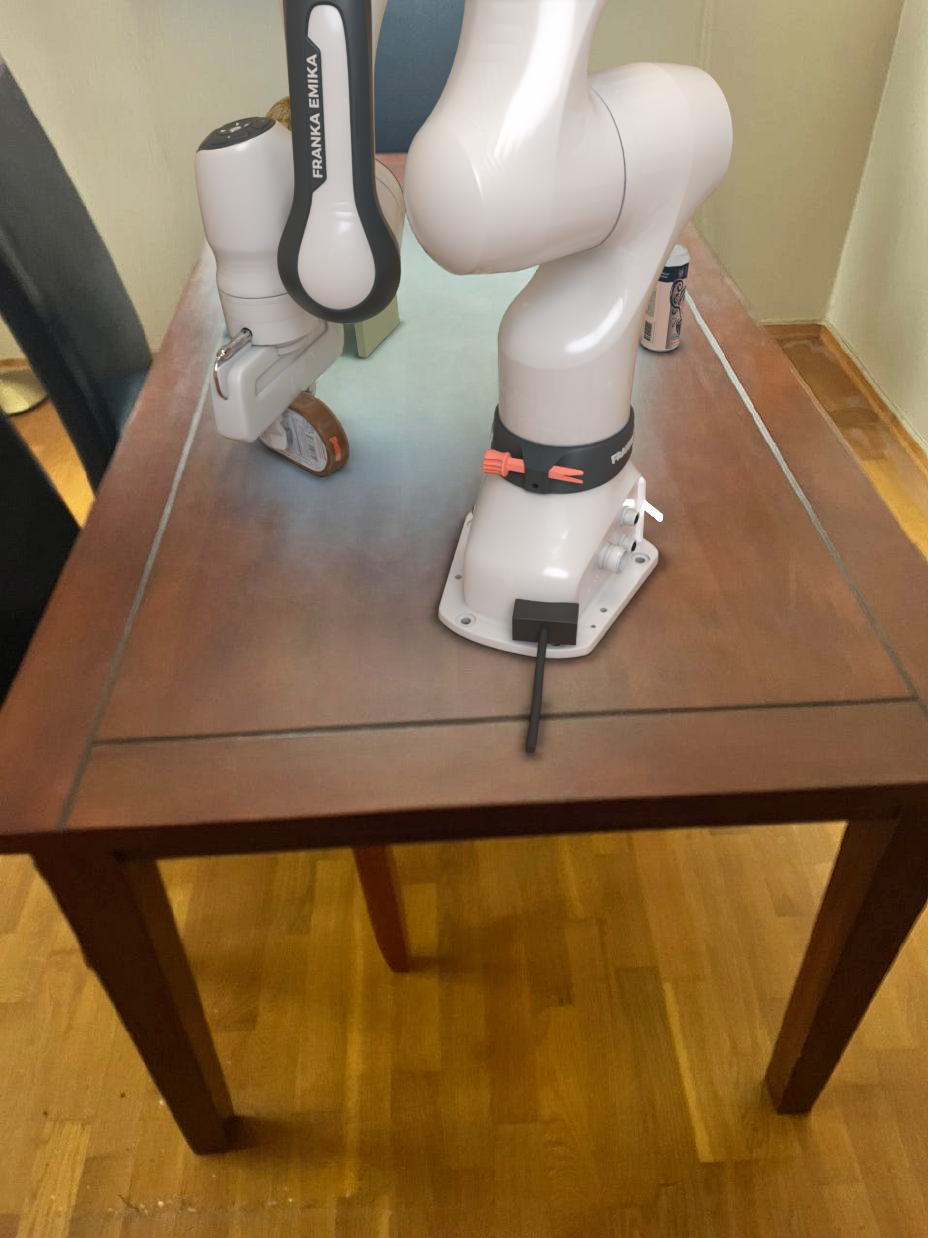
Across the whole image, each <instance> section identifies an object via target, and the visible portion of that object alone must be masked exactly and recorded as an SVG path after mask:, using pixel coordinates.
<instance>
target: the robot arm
mask: <svg viewBox="0 0 928 1238" xmlns="http://www.w3.org/2000/svg"><path fill="white" fill-rule="evenodd" d="M609 1H610V0H464V8H463V17H462V23H461V29H460V35H459V39H458V44H457V49H456V53H455V57H454V60H453V63H452V66H451V69H450V73H449V75H448V77H447V81H446V83H445V86H444V88H443V90H442V92H441V94H440V96H439V99H438V100H437V102H436V104H435V106H434V107H433V109H432V111H431V113H430V114H429V116H428V117H427V119H426V120H425V121H424V123H423V124H422V126H421V127H420V128H419V129H418V130H417V132H416V133H415V135H414V137H413V139H412V140H411V143H410V146H409V148H408V152H407V154H406V157H405V162H404V166H403V172H402V173H403V174H402V183H400V182H399V180H398V178H397V177H396V175H395V174H394V173H393V171H392V170H391V169H390V168H389V166H387V165H385V164H384V163H383V162H382V161H380V160H378V159H377V158H376V132H375V131H376V130H375V129H376V128H375V127H376V126H375V66H376V58H377V57H376V56H377V49H378V44H379V37H380V31H381V27H382V24H383V23H382V22H383V19H384V14H385V11H386V8H387V4H388V0H277V3H278V8H279V15H280V20H281V25H282V32H283V37H284V44H285V56H286V57H285V58H286V68H287V69H286V70H287V81H288V82H287V83H288V96H289V99H290V115H291V131H290V130H288V129H287V128H286V127H284V126H283V125H282V124H281V123H280V122H279V121H277V120H275V119H273V118H268V117H265V116H250V117H245V118H239V119H237V120H234V121H230V122H228V123H225V124H223V125H222V126H220V127H218V128H215V129H213V130H212V131H211V132H210V133H209V134H208V135H207V136H206V137H205V138H204V139H203V140H202V142H200V144H199V146H198V149H197V150H196V152H195V155H194V175H195V176H194V177H195V186H196V193H197V199H198V200H197V201H198V205H199V211H200V216H201V217H200V218H201V221H202V227H203V231H204V236H205V239H206V241H207V244H208V246H209V247H210V249H211V251H212V253H213V257H214V259H215V264H216V271H215V282H216V283H215V284H216V287H217V292H218V297H219V301H220V305H221V309H222V315H223V319H224V323H225V328H226V331H227V334H228V335H229V337H231V339H230V340H229V342H227V343H225V344H224V345H222V346H221V347H219V349H218V350H217V352H216V358H215V360H214V363H213V365H212V366H211V369H210V374H209V390H210V400H211V405H212V406H211V407H212V413H213V417H214V423H215V428H216V431H217V433H218V434H219V435H220V436H221V437H223V438H224V439H227V440H230V441H235V442H239V443H246V444H252V443H254V442H255V441H256V440H257V439H258V437H259V436H260V435H261V434H262V433H263V432H264V431H266V432H267V433H269V438H270V442H271V445H272V447H274V448H276V449H281V450H284V449H286V448H287V447H288V445H289V444H290V443H291V442H292V437H291V430H290V429H289V428H283V426H282V425H281V424H280V422H281V421H282V420H283V417H282V413H283V412H284V411H285V410H286V409H287V408H288V407H289V406H290V405H291V403H292V402H293V401H294V400H295V399H296V398H297V397H298V396H299V395H300V393H301V392H302V391H305V392H306V393H308V394H310V395H313V396H314V397H316V391H317V379H319V378H320V377H321V376H322V375H323V374H324V372H326V371H327V370H328V369H329V368H330V367H331V366H332V365H333V364H334V363H335V362H336V361H337V360H338V359H339V358H340V357H341V356H342V353H343V351H344V346H345V329H344V325H346V324H347V325H349V324H350V325H351V324H354V323H358V322H362V321H365V320H368V319H370V318H372V317H374V316H376V315H378V314H379V313H381V312H382V311H383V310H384V309H385V308H386V307H387V306H388V305H389V304H390V303H391V301H392V300H393V298H394V297H395V295H396V293H398V291H399V288H400V283H401V278H402V257H401V256H402V255H401V253H402V245H403V237H404V228H405V227H404V226H405V219H406V218H407V222H408V225H409V227H410V230H411V231H412V234H413V236H414V238H415V239H416V241H417V243H418V244H419V245H420V247H421V248H422V250H423V251H424V252H425V254H427V256H428V257H429V258H430V259H431V260H432V261H433V262H434V263H435V264H436V265H438V267H440V268H441V269H443V270H444V271H446V272H447V273H449V274H452V275H454V276H480V275H481V276H482V275H497V274H508V273H517V272H521V271H524V270H527V269H531V268H534V267H537V266H538V267H537V268H536V270H535V272H534V273H533V275H532V277H531V278H530V280H529V281H528V282H527V283H526V285H525V286H524V287H523V288H522V289H521V291H520V292H519V293H518V294H516V296H515V297H514V298H513V300H512V301H510V303H509V304H508V306H507V308H506V310H505V311H504V313H503V315H502V318H501V319H500V323H499V327H498V332H497V340H496V341H497V343H496V344H497V383H498V384H497V389H498V390H497V394H498V395H497V397H498V400H497V401H498V402H497V404H496V405H495V409H494V413H493V420H492V424H491V427H490V428H491V429H490V448H488V449H487V450H486V451H485V453H484V455H483V460H482V471H483V475H482V477H481V482H480V485H479V490H478V494H477V498H476V501H475V503H474V505H473V506H472V509H471V511H470V512H468V513H467V514H466V516H465V519H464V521H463V526H462V529H461V532H460V536H459V539H458V542H457V545H456V548H455V552H454V556H453V559H452V561H451V566H450V569H449V571H448V575H447V578H446V582H445V585H444V589H443V591H442V594H441V595H442V596H441V599H440V601H439V606H438V615H437V618H438V619H439V621H440V622H441V623H442V624H443V625H444V626H445V627H447V628H448V629H449V630H450V631H452V632H454V633H455V634H457V635H459V636H461V637H463V638H465V639H467V640H470V641H472V642H474V643H477V644H480V645H483V646H486V647H489V648H492V649H493V648H494V649H496V650H499V651H503V652H507V653H512V654H516V655H522V656H527V657H533V658H534V657H535V658H536V659H535V666H534V676H533V687H532V689H533V690H532V703H531V710H530V716H529V717H530V718H529V725H528V730H527V737H526V743H525V751H526V752H527V753H534V752H535V751H536V747H537V739H538V733H539V724H540V719H541V712H542V711H541V710H542V700H543V689H544V675H545V666H546V665H545V664H546V659H570V658H577V657H583V656H587V655H589V654H591V652H592V651H594V649H595V648H596V647H597V645H598V644H599V643H600V641H601V640H602V639H603V637H604V636H605V635H606V633H607V632H608V631H609V629H610V628H611V626H612V625H613V624H614V623H615V622H616V620H617V618H618V617H619V616H620V615H621V613H622V612H623V610H624V609H625V608H626V607H627V605H628V604H629V603H630V602H631V600H632V599H633V598H634V596H635V594H636V593H637V592H638V590H639V589H640V588H641V587H642V586H643V584H644V583H645V581H646V580H647V579H648V577H649V576H650V575H651V573H653V570H654V569H655V568H656V566H657V565H658V564H659V550H658V549H657V548H656V546H655V545H654V544H653V543H651V542H650V541H649V540H647V539H646V538H645V537H644V527H645V526H644V525H645V524H644V523H645V511H646V512H647V513H648V514H649V515H651V516H652V517H654V518H655V519H656V521H658V522H662V521H663V516H664V515H663V513H661V512H660V511H659V510H658V509H656V508H655V507H654V506H652V505H651V504H650V503H648V501H647V500H646V489H647V481H646V478H644V476H643V474H642V473H641V472H640V470H638V468H637V467H636V464H635V463H634V461H633V459H632V457H631V456H632V452H633V447H634V441H635V435H636V423H635V410H634V407H633V406H632V396H633V388H634V387H633V386H634V379H635V373H636V371H635V370H636V365H637V364H636V363H637V355H638V354H637V353H638V348H639V341H640V336H641V333H642V332H641V331H642V329H643V320H644V316H645V314H646V311H647V308H648V305H649V302H650V300H651V297H652V294H653V292H654V289H655V287H656V285H657V282H658V280H659V278H660V275H661V273H662V271H663V269H664V267H665V265H666V262H667V260H668V258H669V256H670V254H671V252H672V250H673V248H674V246H675V245H676V244H678V241H679V239H680V237H681V235H682V234H683V233H684V231H685V229H686V228H687V226H688V224H689V223H690V221H691V220H692V219H693V217H694V216H695V214H696V213H697V212H698V211H699V210H700V208H701V207H702V206H703V205H704V204H705V202H706V201H708V199H709V198H710V197H711V196H712V195H713V194H714V193H715V191H716V190H718V188H719V187H720V185H721V184H722V182H723V180H724V178H725V176H726V174H727V172H728V169H729V166H730V162H731V158H732V153H733V144H734V128H733V120H732V114H731V111H730V107H729V103H728V101H727V98H726V96H725V94H724V92H723V90H722V88H721V86H720V85H719V84H718V83H717V81H716V80H715V78H713V77H712V76H711V75H710V74H709V73H708V72H706V71H705V70H703V69H702V68H699V67H698V66H694V65H689V64H680V63H673V62H671V63H670V62H657V61H656V62H654V61H636V62H630V63H627V64H623V65H622V64H621V65H618V66H614V67H609V68H605V69H601V70H596V71H592V72H588V71H589V65H590V64H589V62H590V56H591V51H592V46H593V41H594V37H595V33H596V30H597V27H598V25H599V22H600V20H601V17H602V15H603V13H604V11H605V8H606V6H607V5H608V3H609ZM401 184H402V186H401Z"/></svg>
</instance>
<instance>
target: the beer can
mask: <svg viewBox="0 0 928 1238" xmlns="http://www.w3.org/2000/svg"><path fill="white" fill-rule="evenodd" d="M690 262H691V255H690V253H689V250H688V247H687V246H685V245H683V244H682V243H676V245H675V246H674V248H673V250H672V252H671V254H670V256H669V258H668V260H667V262H666V265H665V267H664V269H663V271H662V273H661V275H660V278H659V280H658V282H657V285H656V287H655V289H654V292H653V294H652V297H651V300H650V302H649V305H648V308H647V311H646V314H645V316H644V320H643V324H642V329H641V331H642V332H641V338H640V344H641V345H642V346H643V347H644V348H646V349H648V351H652V352H655V353H656V352H657V353H666V352H670V351H672V350H674V349H675V348H677V347H678V346H679V345H680V337H681V328H682V323H683V321H682V320H683V314H684V304H685V298H686V290H687V289H686V288H687V283H688V274H689V266H690Z"/></svg>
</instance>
